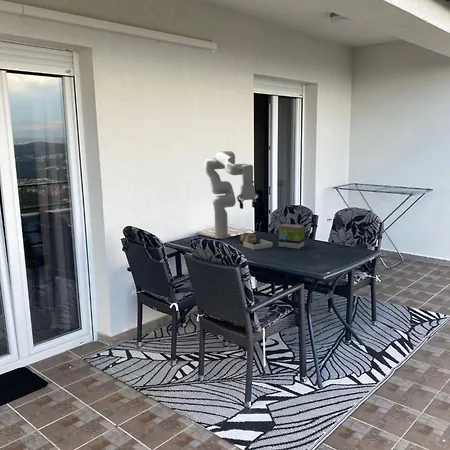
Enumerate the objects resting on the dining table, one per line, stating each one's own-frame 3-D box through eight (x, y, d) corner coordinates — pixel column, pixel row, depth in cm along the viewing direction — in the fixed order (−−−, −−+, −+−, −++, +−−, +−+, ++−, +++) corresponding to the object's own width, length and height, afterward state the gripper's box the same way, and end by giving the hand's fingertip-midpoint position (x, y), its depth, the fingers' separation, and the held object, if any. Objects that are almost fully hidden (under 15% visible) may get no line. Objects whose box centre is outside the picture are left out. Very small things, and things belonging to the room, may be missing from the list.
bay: (243, 246, 321) (243, 241, 321) (261, 243, 329) (261, 239, 328) (253, 249, 310) (253, 245, 309) (272, 246, 317) (272, 242, 316)
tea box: (278, 247, 316) (278, 225, 314) (283, 244, 325) (283, 223, 323) (299, 249, 309) (300, 227, 307) (304, 246, 318) (304, 224, 316)
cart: (239, 242, 332) (239, 233, 331) (249, 241, 336) (249, 232, 335) (246, 245, 323) (246, 236, 322) (257, 243, 327) (257, 234, 326)
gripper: (255, 181, 324) (255, 206, 327) (233, 183, 316) (233, 208, 319) (261, 182, 318) (261, 207, 321) (239, 184, 310) (239, 209, 313)
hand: (247, 208), depth 320 cm, fingers open, 9 cm apart
